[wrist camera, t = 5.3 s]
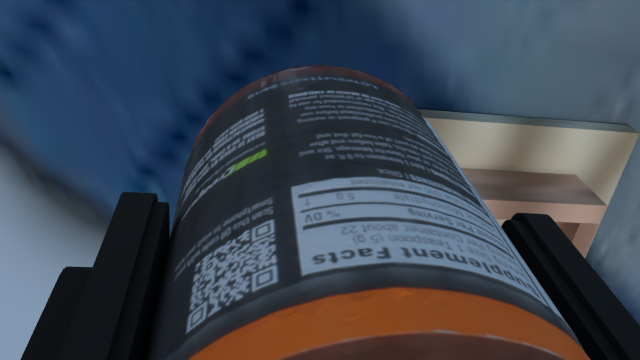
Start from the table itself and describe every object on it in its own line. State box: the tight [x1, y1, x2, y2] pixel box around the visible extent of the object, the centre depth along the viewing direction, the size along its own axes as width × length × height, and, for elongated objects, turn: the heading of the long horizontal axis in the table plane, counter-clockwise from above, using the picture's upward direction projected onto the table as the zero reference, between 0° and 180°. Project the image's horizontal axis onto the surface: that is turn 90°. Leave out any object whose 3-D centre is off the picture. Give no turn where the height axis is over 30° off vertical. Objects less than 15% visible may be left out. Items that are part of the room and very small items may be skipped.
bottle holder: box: [418, 109, 640, 258], centre depth 35 cm, size 16×16×5 cm
